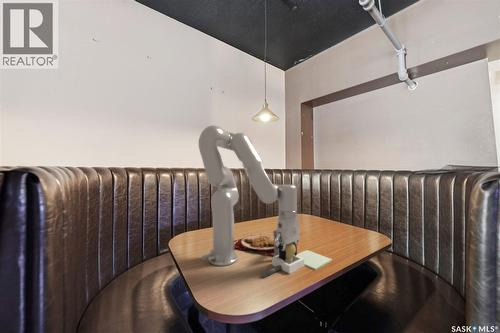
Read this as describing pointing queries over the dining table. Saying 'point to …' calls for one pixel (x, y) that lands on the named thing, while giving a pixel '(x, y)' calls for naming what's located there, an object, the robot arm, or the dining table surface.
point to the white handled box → (284, 263)
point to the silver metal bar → (275, 233)
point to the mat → (313, 259)
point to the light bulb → (289, 252)
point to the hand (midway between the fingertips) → (288, 256)
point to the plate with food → (257, 243)
